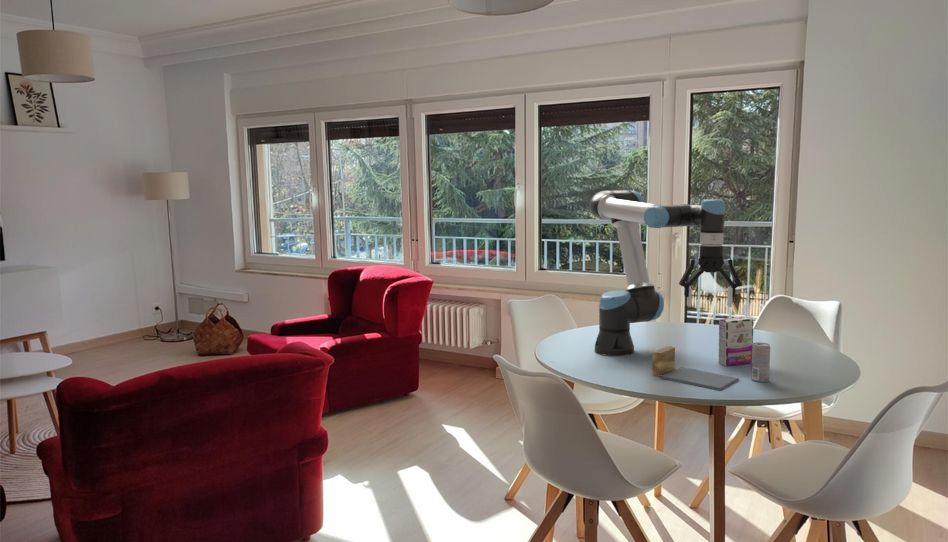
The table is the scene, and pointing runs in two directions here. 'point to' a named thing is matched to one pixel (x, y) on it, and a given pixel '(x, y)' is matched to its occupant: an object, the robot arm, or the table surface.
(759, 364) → the energy drink
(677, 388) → the table surface
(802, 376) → the table surface
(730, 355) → the candy bar box
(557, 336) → the table surface
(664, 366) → the slab
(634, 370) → the table surface
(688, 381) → the mat
